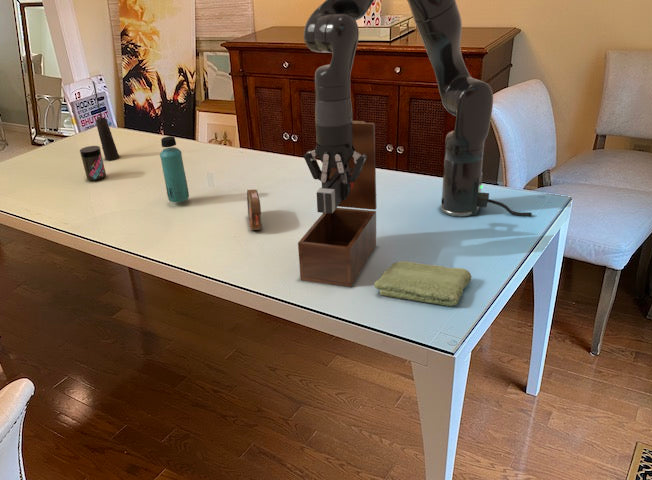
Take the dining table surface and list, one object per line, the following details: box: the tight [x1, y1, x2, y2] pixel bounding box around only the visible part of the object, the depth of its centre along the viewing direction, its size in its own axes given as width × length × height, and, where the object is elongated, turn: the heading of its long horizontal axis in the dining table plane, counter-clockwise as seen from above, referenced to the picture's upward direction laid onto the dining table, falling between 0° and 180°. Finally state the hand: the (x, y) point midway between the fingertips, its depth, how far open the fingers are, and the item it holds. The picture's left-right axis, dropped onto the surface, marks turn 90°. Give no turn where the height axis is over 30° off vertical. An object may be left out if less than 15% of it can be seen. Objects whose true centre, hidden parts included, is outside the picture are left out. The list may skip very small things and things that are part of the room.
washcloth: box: [373, 260, 473, 307], centre depth 131 cm, size 13×18×3 cm
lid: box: [329, 120, 377, 211], centre depth 143 cm, size 21×12×5 cm
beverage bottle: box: [159, 135, 190, 203], centre depth 181 cm, size 6×7×20 cm
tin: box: [246, 189, 262, 231], centre depth 166 cm, size 15×3×8 cm, turn 5°
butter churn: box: [92, 81, 120, 162], centre depth 224 cm, size 9×10×28 cm
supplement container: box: [79, 145, 107, 183], centre depth 210 cm, size 7×7×10 cm
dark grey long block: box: [316, 168, 354, 214], centre depth 135 cm, size 15×3×5 cm, turn 155°
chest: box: [297, 207, 377, 288], centre depth 142 cm, size 20×12×9 cm, turn 155°
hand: (336, 197), depth 136 cm, fingers closed on dark grey long block, 3 cm apart
